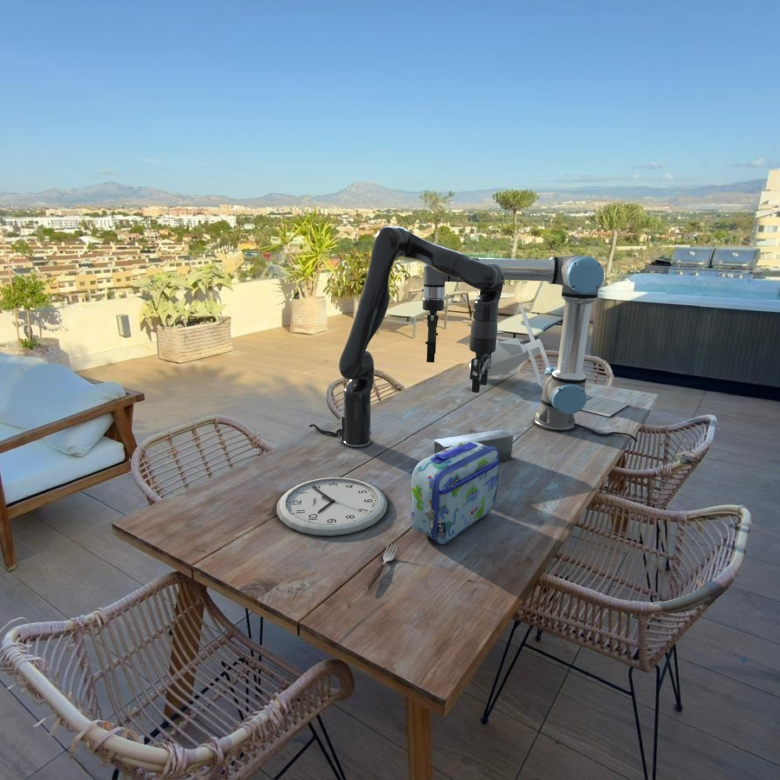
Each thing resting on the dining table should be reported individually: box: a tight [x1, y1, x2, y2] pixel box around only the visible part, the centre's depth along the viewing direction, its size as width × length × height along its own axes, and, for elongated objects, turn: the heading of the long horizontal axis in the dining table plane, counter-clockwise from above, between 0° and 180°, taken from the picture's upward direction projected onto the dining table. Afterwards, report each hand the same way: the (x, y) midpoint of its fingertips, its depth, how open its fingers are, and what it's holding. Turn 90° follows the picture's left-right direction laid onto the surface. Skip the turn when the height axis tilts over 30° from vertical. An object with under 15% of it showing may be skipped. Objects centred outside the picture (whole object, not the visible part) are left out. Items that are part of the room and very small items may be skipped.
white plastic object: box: [468, 307, 551, 390], centre depth 257 cm, size 37×45×31 cm
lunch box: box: [410, 440, 500, 545], centre depth 131 cm, size 26×11×21 cm, turn 134°
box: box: [433, 428, 514, 463], centre depth 170 cm, size 26×6×8 cm, turn 113°
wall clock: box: [276, 476, 388, 537], centre depth 142 cm, size 30×2×30 cm
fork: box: [367, 541, 399, 590], centre depth 116 cm, size 3×16×2 cm, turn 160°
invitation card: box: [580, 396, 629, 418], centre depth 226 cm, size 21×1×15 cm
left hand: (479, 388), depth 155 cm, fingers open, 8 cm apart
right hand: (431, 357), depth 189 cm, fingers open, 13 cm apart
